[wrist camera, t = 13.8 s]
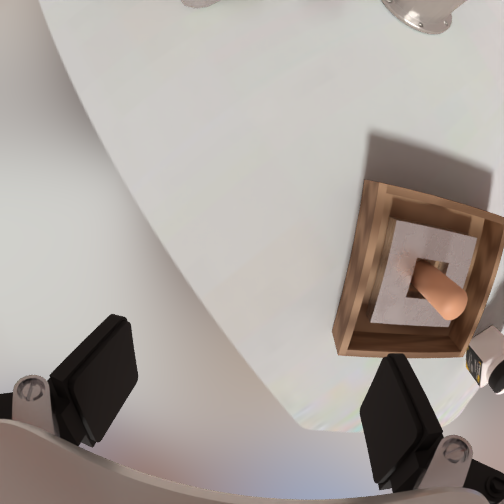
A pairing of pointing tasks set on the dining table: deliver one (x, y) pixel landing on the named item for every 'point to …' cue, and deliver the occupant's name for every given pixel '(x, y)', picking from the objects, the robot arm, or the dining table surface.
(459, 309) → the peg
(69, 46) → the dining table surface
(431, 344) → the open box
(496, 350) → the medicine bottle
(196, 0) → the water bottle
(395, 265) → the bore plate
